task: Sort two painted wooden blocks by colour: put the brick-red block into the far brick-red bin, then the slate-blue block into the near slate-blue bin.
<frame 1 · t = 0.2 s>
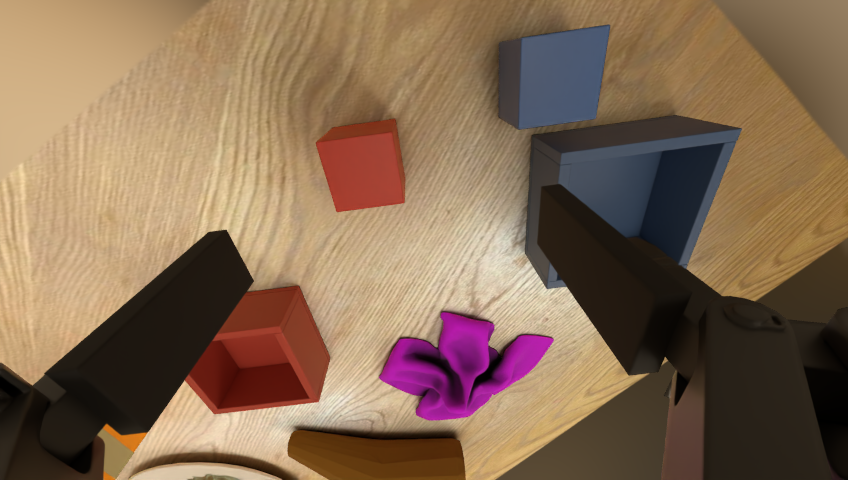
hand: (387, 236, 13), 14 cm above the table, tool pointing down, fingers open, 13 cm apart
red block: (370, 154, 25), on the table
orange juice: (120, 388, 39), on the table
blue bin: (591, 191, 27), on the table
blue block: (531, 77, 22), on the table
horn: (380, 438, 48), on the table
red bin: (266, 331, 34), on the table
cloth: (463, 363, 39), on the table
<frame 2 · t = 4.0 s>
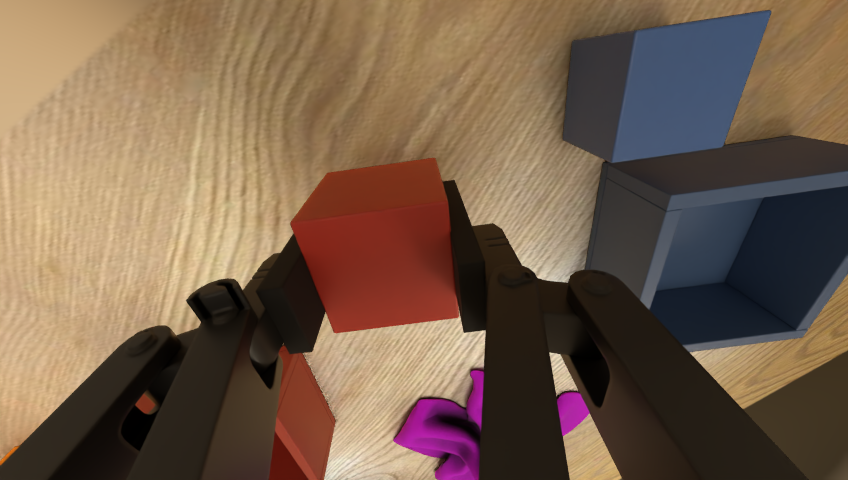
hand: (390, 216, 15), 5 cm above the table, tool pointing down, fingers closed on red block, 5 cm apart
red block: (390, 214, 15), point 4 cm above the table, touching gripper
orange juice: (84, 457, 32), on the table
blue bin: (670, 230, 21), on the table
blue block: (611, 87, 17), on the table
red bin: (257, 394, 28), on the table
cloth: (493, 422, 33), on the table
when the fingers open (2 cm above the table, at t = 9.8 s): red block stays where it is, resting on red bin.
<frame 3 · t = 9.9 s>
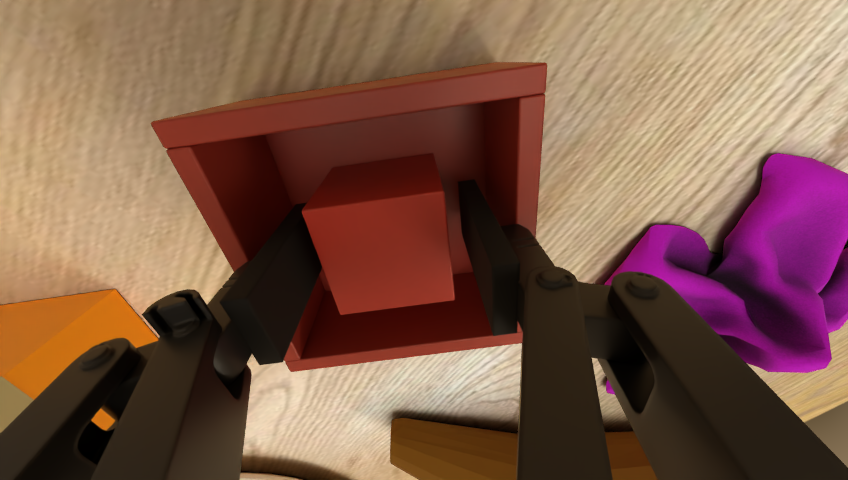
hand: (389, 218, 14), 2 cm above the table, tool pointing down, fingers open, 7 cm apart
red block: (391, 206, 16), point 1 cm above the table, touching red bin
orange juice: (93, 337, 21), on the table
horn: (521, 432, 30), on the table
red bin: (391, 201, 16), on the table
cloth: (729, 288, 21), on the table
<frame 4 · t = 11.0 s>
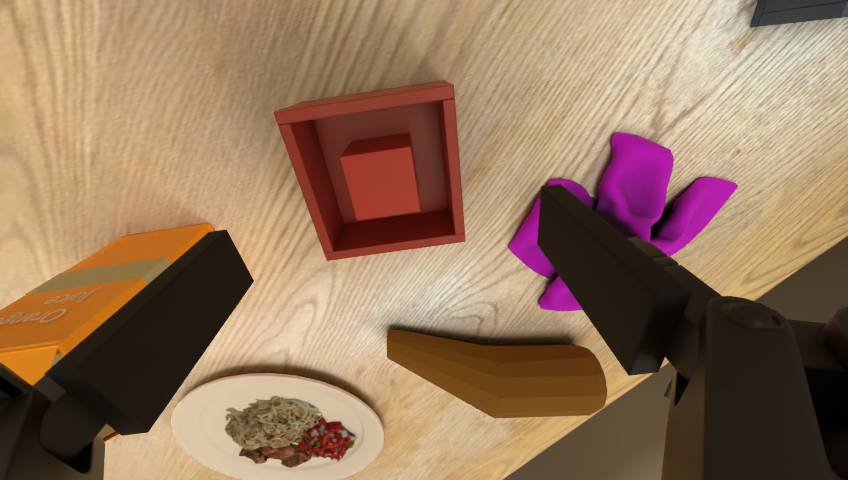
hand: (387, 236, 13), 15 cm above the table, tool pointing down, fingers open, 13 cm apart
red block: (386, 165, 26), point 1 cm above the table, touching red bin
orange juice: (188, 260, 31), on the table
horn: (484, 347, 40), on the table
red bin: (386, 163, 27), on the table
cloth: (613, 226, 31), on the table
plated food: (287, 425, 47), on the table
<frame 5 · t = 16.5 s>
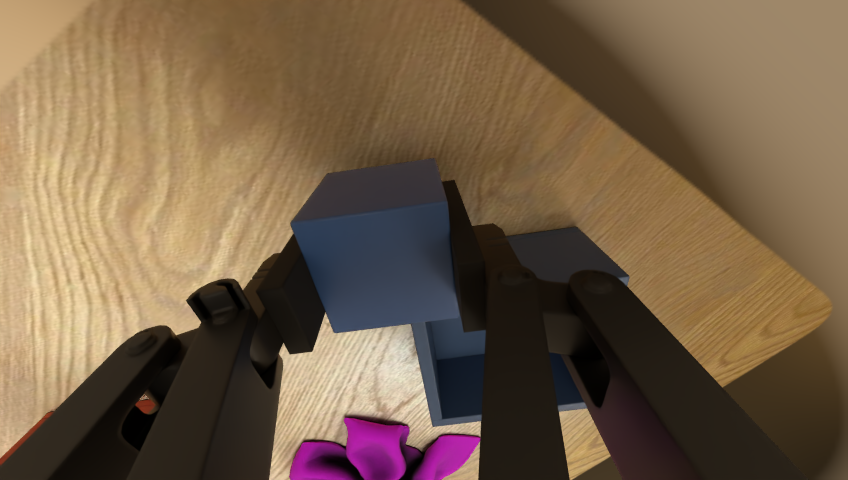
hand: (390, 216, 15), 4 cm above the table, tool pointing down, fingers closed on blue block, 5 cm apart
blue bin: (493, 302, 23), on the table
blue block: (390, 214, 15), point 4 cm above the table, touching gripper
red bin: (146, 438, 30), on the table
cloth: (383, 460, 35), on the table
when the fingers open (2 cm above the table, at t = 21.5 s): blue block stays where it is, resting on blue bin.
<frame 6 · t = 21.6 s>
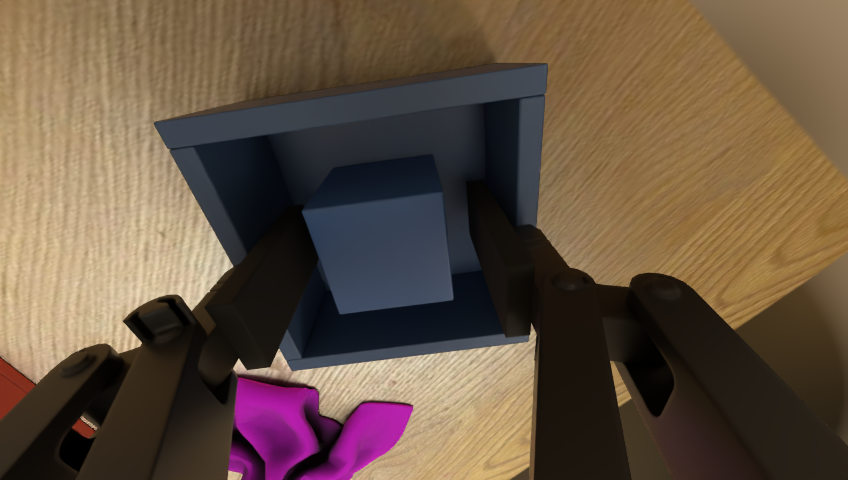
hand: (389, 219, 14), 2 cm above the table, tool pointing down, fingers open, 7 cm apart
blue bin: (392, 201, 16), on the table
blue block: (391, 207, 16), point 1 cm above the table, touching blue bin
cloth: (297, 435, 28), on the table
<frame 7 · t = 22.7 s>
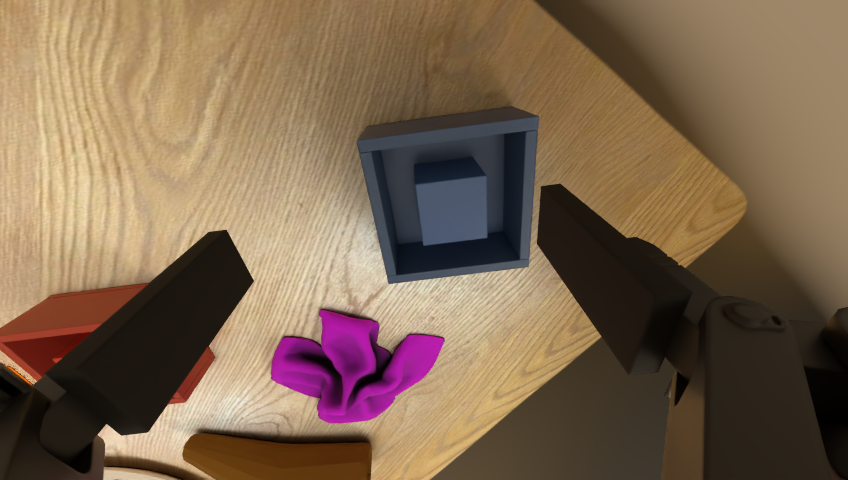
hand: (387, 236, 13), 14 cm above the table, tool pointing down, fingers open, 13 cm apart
orange juice: (2, 388, 38), on the table
blue bin: (445, 185, 27), on the table
blue block: (445, 188, 26), point 1 cm above the table, touching blue bin
horn: (291, 442, 46), on the table
red bin: (140, 328, 33), on the table
cloth: (357, 363, 38), on the table
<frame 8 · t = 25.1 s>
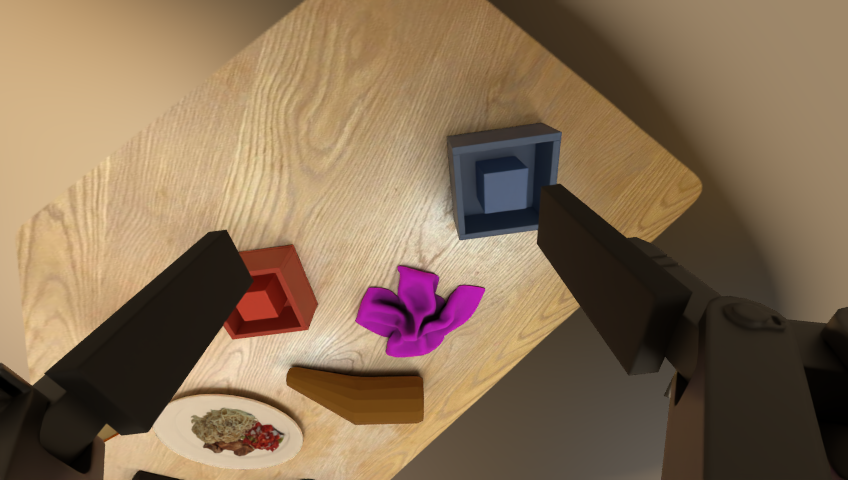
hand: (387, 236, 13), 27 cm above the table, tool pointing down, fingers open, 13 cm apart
red block: (268, 283, 46), point 1 cm above the table, touching red bin
blue bin: (494, 175, 40), on the table
blue block: (495, 177, 39), point 1 cm above the table, touching blue bin
horn: (360, 377, 60), on the table
red bin: (269, 280, 47), on the table
cloth: (419, 309, 51), on the table
plated food: (235, 426, 67), on the table
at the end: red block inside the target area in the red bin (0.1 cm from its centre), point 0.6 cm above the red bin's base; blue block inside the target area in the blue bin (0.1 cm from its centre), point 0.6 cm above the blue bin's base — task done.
